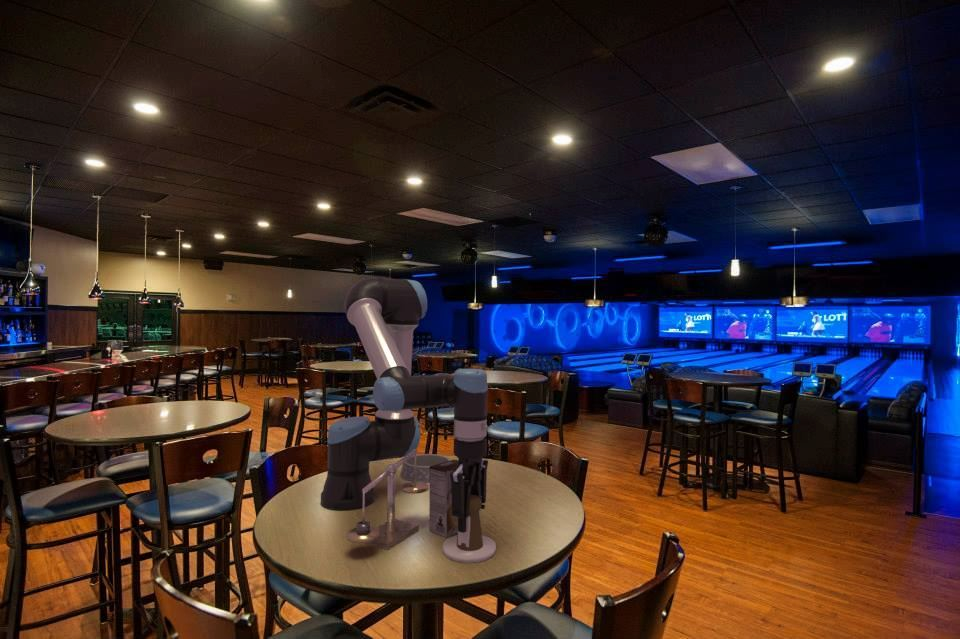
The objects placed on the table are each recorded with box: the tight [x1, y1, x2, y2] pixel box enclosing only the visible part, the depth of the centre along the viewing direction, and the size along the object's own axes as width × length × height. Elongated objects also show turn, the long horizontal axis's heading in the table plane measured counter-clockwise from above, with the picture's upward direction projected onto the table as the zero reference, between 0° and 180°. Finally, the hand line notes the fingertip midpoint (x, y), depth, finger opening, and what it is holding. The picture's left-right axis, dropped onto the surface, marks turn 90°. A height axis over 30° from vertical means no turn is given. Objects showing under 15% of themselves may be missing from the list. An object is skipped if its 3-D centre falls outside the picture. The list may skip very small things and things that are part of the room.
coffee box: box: [428, 459, 466, 538], centre depth 124 cm, size 9×6×16 cm
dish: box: [442, 534, 497, 564], centre depth 112 cm, size 12×12×1 cm
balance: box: [346, 448, 430, 551], centre depth 119 cm, size 8×26×19 cm, turn 151°
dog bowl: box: [399, 453, 451, 484], centre depth 169 cm, size 17×18×5 cm
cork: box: [456, 494, 483, 551], centre depth 112 cm, size 6×6×11 cm
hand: (469, 541), depth 112 cm, fingers open, 4 cm apart
